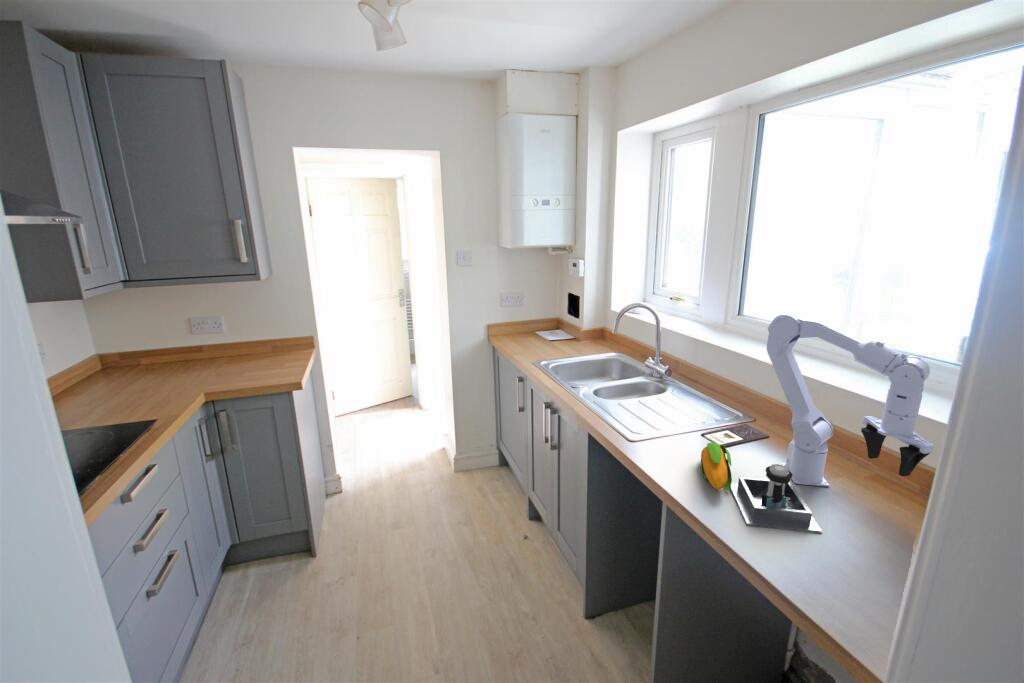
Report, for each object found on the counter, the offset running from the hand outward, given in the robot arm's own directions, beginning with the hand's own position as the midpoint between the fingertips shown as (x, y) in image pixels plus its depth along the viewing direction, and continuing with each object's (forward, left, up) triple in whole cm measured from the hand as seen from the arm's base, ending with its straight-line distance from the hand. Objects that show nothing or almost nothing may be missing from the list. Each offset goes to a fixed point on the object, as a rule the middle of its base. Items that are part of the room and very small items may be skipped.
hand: (888, 466), depth 104 cm
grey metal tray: (+5, -25, -10) cm, 28 cm away
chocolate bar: (-31, -24, -11) cm, 41 cm away
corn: (-6, -35, -11) cm, 37 cm away
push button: (+5, -24, -10) cm, 27 cm away
